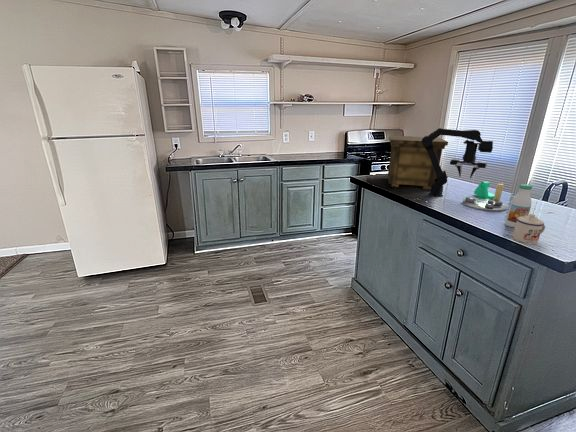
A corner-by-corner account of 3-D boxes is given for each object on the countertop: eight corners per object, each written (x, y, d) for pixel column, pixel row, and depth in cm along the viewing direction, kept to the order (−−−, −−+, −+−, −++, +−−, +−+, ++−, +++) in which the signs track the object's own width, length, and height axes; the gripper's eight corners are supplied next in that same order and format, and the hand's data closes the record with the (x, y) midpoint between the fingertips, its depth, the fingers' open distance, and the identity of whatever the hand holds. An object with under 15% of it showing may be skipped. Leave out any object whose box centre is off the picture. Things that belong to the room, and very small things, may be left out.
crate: (384, 177, 244) (389, 135, 233) (431, 180, 235) (438, 137, 224) (384, 187, 213) (390, 139, 202) (439, 191, 204) (448, 141, 193)
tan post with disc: (499, 210, 161) (505, 190, 158) (484, 207, 165) (489, 188, 162) (503, 203, 173) (508, 184, 170) (489, 201, 177) (493, 182, 174)
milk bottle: (501, 223, 147) (511, 183, 140) (515, 223, 148) (527, 183, 141) (513, 229, 140) (525, 187, 133) (528, 228, 141) (541, 187, 134)
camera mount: (497, 200, 186) (501, 184, 182) (485, 200, 185) (489, 184, 182) (484, 195, 197) (488, 179, 193) (473, 195, 197) (476, 179, 193)
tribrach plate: (482, 212, 163) (483, 206, 162) (453, 200, 183) (454, 195, 182) (516, 210, 167) (518, 204, 166) (485, 199, 187) (486, 194, 186)
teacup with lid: (523, 245, 123) (531, 218, 120) (506, 236, 132) (513, 210, 128) (550, 244, 125) (559, 217, 121) (531, 235, 133) (538, 210, 129)
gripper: (491, 151, 180) (484, 177, 185) (456, 149, 191) (451, 173, 196) (488, 153, 172) (481, 180, 177) (452, 150, 183) (447, 176, 188)
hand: (465, 177), depth 185 cm, fingers open, 5 cm apart
